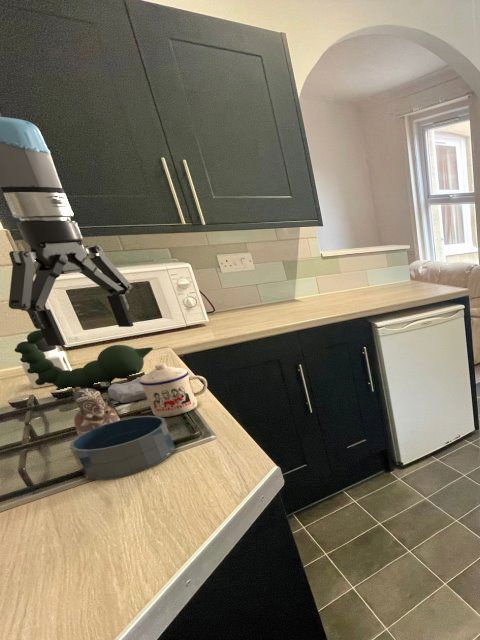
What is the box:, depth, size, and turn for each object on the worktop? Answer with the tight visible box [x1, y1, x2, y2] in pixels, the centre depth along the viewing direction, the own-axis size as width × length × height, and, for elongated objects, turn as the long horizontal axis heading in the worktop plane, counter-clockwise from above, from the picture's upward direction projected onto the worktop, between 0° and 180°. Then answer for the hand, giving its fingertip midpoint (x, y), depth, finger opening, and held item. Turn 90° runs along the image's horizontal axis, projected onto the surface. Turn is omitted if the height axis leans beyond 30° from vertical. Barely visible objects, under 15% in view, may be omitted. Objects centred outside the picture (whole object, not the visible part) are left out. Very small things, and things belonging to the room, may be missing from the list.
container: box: [18, 338, 73, 389], centre depth 119 cm, size 8×8×13 cm
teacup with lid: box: [140, 362, 208, 418], centre depth 100 cm, size 12×9×12 cm
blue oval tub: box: [69, 415, 176, 481], centre depth 79 cm, size 13×14×6 cm
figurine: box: [73, 387, 121, 437], centre depth 85 cm, size 7×7×12 cm
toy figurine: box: [14, 329, 154, 391], centre depth 113 cm, size 9×19×25 cm
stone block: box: [107, 373, 147, 404], centre depth 110 cm, size 12×5×10 cm
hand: (94, 335), depth 83 cm, fingers open, 13 cm apart
